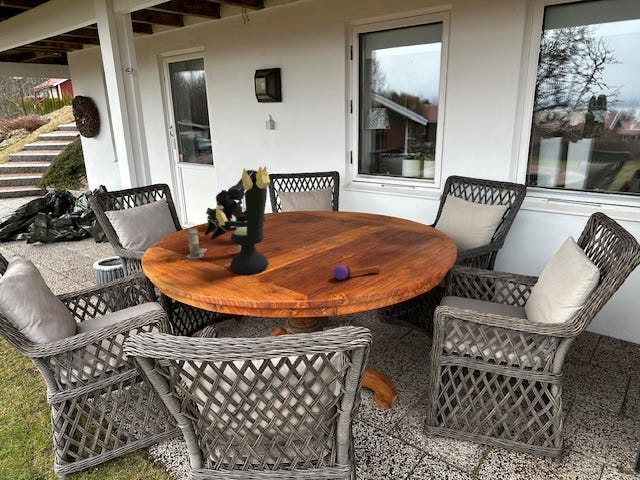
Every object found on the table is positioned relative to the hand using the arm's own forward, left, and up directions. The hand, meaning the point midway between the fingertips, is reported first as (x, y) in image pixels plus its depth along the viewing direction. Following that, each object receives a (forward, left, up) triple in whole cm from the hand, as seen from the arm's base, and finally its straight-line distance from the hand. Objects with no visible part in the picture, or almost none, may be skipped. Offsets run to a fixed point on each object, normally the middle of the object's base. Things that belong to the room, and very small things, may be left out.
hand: (208, 237), depth 204 cm
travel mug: (-18, -3, -9) cm, 20 cm away
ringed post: (+4, +6, -8) cm, 11 cm away
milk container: (+14, -49, -9) cm, 52 cm away
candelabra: (-31, +15, -9) cm, 35 cm away
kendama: (-76, +13, -9) cm, 77 cm away
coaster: (+4, +6, -8) cm, 11 cm away
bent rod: (+7, -1, -8) cm, 11 cm away
